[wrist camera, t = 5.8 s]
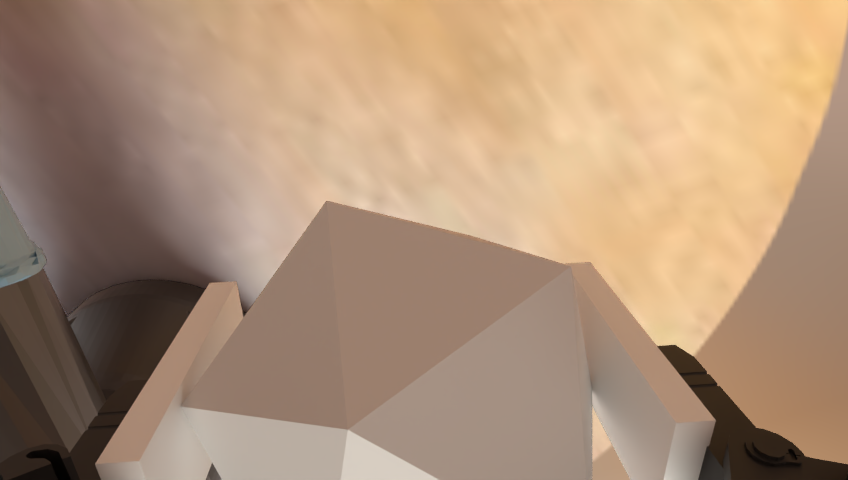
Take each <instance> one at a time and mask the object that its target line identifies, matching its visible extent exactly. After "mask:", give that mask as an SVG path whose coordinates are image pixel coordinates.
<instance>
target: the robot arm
mask: <svg viewBox="0 0 848 480" xmlns="http://www.w3.org/2000/svg"><path fill="white" fill-rule="evenodd" d="M46 261H47V259H46V257H45V255H44V253H43V251H42V249H41V248H39V247H38V246H37V245H36V244H35V243H34V242H32V241H31V240H30V239H29V238H28V236H27V234H26V232H25V230H24V229H23V227H22V225H21V223H20V221H19V219H18V218H17V216H16V214H15V212H14V210H13V209H12V207H11V205H10V203H9V201H8V199H7V198H6V196H5V194H4V192H3V190H2V189H1V187H0V480H222V479H221V477H220V475H219V474H218V472H217V470H216V468H215V467H214V465H213V463H212V461H211V459H210V458H209V456H208V454H207V452H206V451H205V449H204V447H203V445H202V444H201V442H200V440H199V438H198V437H197V435H196V433H195V431H194V430H193V428H192V426H191V424H190V422H189V421H188V419H187V417H186V415H185V414H184V412H183V410H182V404H183V402H184V401H185V399H186V398H187V397H188V395H189V394H190V392H191V391H192V390H193V388H194V387H195V385H196V384H197V382H198V381H199V380H200V378H201V377H202V375H203V374H204V373H205V371H206V370H207V368H208V367H209V366H210V364H211V363H212V361H213V360H214V359H215V357H216V356H217V354H218V353H219V352H220V350H221V349H222V347H223V346H224V344H225V343H226V342H227V340H228V339H229V337H230V336H231V335H232V333H233V332H234V330H235V329H236V328H237V326H238V325H239V323H240V322H241V321H242V319H243V318H244V316H245V315H246V313H245V312H244V311H242V307H241V302H240V297H239V292H238V287H237V282H236V281H234V282H216V283H209V285H208V286H207V288H206V290H205V289H202V288H199V287H196V286H193V285H189V284H184V283H180V282H174V281H165V280H141V281H133V282H127V283H122V284H119V285H115V286H112V287H109V288H107V289H104V290H102V291H100V292H98V293H96V294H94V295H93V296H91V297H90V298H88V299H87V300H85V301H84V302H83V303H82V304H81V305H79V306H78V307H77V308H76V309H75V310H74V311H73V312H72V313H71V314H70V315H69V316H68V317H66V315H65V313H64V311H63V308H62V306H61V304H60V302H59V300H58V298H57V296H56V294H55V292H54V290H53V287H52V285H51V283H50V281H49V279H48V277H47V275H46V273H45V271H44V269H43V267H44V265H45V264H46ZM565 265H568V266H571V269H572V275H573V280H574V286H575V292H576V297H577V303H578V309H579V315H580V320H581V326H582V332H583V338H584V343H585V349H586V355H587V361H588V366H589V372H590V378H591V383H592V406H593V408H594V410H595V412H596V414H597V416H598V418H599V420H600V422H601V424H602V426H603V428H604V430H605V432H606V434H607V436H608V437H609V439H610V441H611V443H612V445H613V447H614V449H615V451H616V453H617V455H618V457H619V459H620V461H621V463H622V465H623V467H624V469H625V471H626V472H627V474H628V476H629V478H630V480H848V464H842V463H837V462H831V461H825V460H819V459H814V458H809V457H805V456H804V454H803V453H802V452H801V451H800V450H799V449H798V448H797V447H796V446H795V445H794V444H793V443H792V442H790V441H788V440H787V439H785V438H783V437H782V436H780V435H778V434H776V433H773V432H770V431H767V430H764V429H759V428H756V427H755V426H754V425H753V424H752V423H751V421H750V420H749V419H748V418H747V417H746V416H745V415H744V413H743V412H742V411H741V410H740V409H739V408H738V407H737V405H736V404H735V403H734V402H733V401H732V400H731V399H730V397H729V396H728V395H727V394H726V393H725V392H724V391H723V389H722V388H721V387H720V386H717V383H716V382H715V380H714V379H713V378H712V377H711V376H710V375H709V374H707V371H706V370H705V369H704V368H703V367H702V365H701V364H700V363H699V362H698V361H697V360H696V359H695V358H694V357H693V356H692V355H690V354H688V353H687V352H685V351H684V350H682V349H681V348H679V347H677V346H676V345H668V346H656V344H655V343H654V342H653V341H652V339H651V338H650V337H649V336H648V334H647V333H646V332H645V331H644V329H643V328H642V327H641V325H640V324H639V323H638V322H637V320H636V319H635V318H634V317H633V315H632V314H631V313H630V312H629V310H628V309H627V308H626V307H625V305H624V304H623V303H622V302H621V300H620V299H619V298H618V297H617V295H616V294H615V293H614V292H613V290H612V289H611V288H610V287H609V285H608V284H607V283H606V281H605V280H604V279H603V278H602V276H601V275H600V274H599V273H598V271H597V270H596V269H595V268H594V266H593V265H592V264H591V263H590V262H585V263H566V264H565Z"/></svg>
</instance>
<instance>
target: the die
mask: <svg viewBox="0 0 848 480" xmlns="http://www.w3.org/2000/svg"><path fill="white" fill-rule="evenodd" d="M182 410H183V412H184V414H185V415H186V417H187V419H188V421H189V422H190V424H191V426H192V428H193V430H194V431H195V433H196V435H197V437H198V438H199V440H200V442H201V444H202V445H203V447H204V449H205V451H206V452H207V454H208V456H209V458H210V459H211V461H212V463H213V465H214V467H215V468H216V470H217V472H218V474H219V475H220V477H221V479H222V480H592V383H591V378H590V372H589V366H588V361H587V355H586V349H585V343H584V338H583V332H582V326H581V320H580V315H579V309H578V303H577V297H576V292H575V286H574V280H573V275H572V269H571V266H568V265H565V264H562V263H558V262H555V261H552V260H548V259H545V258H542V257H539V256H535V255H532V254H529V253H526V252H522V251H519V250H516V249H512V248H509V247H506V246H503V245H499V244H496V243H493V242H490V241H486V240H483V239H480V238H476V237H473V236H470V235H466V234H462V233H457V232H453V231H449V230H445V229H441V228H437V227H433V226H429V225H424V224H420V223H416V222H412V221H408V220H404V219H400V218H396V217H391V216H387V215H383V214H379V213H375V212H371V211H367V210H363V209H358V208H354V207H350V206H346V205H342V204H338V203H334V202H330V201H326V202H325V204H324V205H323V206H322V208H321V209H320V211H319V212H318V213H317V215H316V216H315V218H314V219H313V221H312V222H311V223H310V225H309V226H308V228H307V229H306V230H305V232H304V233H303V235H302V236H301V237H300V239H299V240H298V242H297V243H296V244H295V246H294V247H293V249H292V250H291V252H290V253H289V254H288V256H287V257H286V259H285V260H284V261H283V263H282V264H281V266H280V267H279V268H278V270H277V271H276V273H275V274H274V275H273V277H272V278H271V280H270V281H269V282H268V284H267V285H266V287H265V288H264V290H263V291H262V292H261V294H260V295H259V297H258V298H257V299H256V301H255V302H254V304H253V305H252V306H251V308H250V309H249V311H248V312H247V313H246V315H245V316H244V318H243V319H242V321H241V322H240V323H239V325H238V326H237V328H236V329H235V330H234V332H233V333H232V335H231V336H230V337H229V339H228V340H227V342H226V343H225V344H224V346H223V347H222V349H221V350H220V352H219V353H218V354H217V356H216V357H215V359H214V360H213V361H212V363H211V364H210V366H209V367H208V368H207V370H206V371H205V373H204V374H203V375H202V377H201V378H200V380H199V381H198V382H197V384H196V385H195V387H194V388H193V390H192V391H191V392H190V394H189V395H188V397H187V398H186V399H185V401H184V402H183V404H182Z"/></svg>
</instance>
